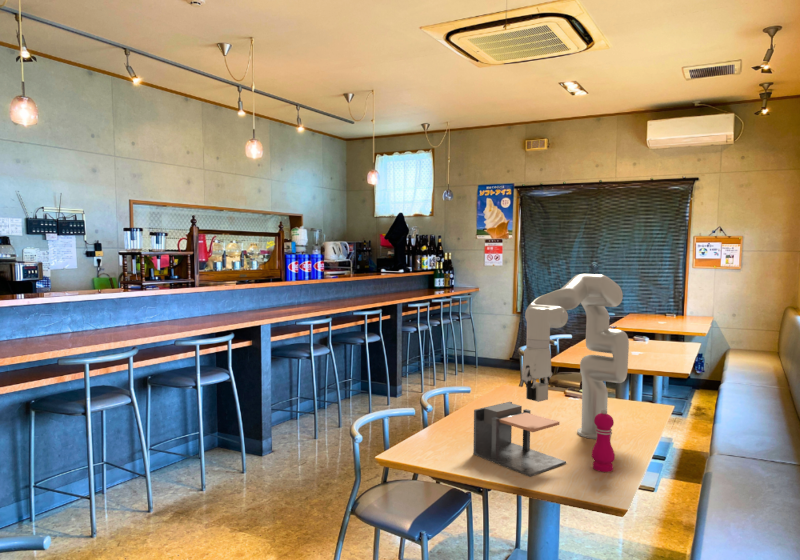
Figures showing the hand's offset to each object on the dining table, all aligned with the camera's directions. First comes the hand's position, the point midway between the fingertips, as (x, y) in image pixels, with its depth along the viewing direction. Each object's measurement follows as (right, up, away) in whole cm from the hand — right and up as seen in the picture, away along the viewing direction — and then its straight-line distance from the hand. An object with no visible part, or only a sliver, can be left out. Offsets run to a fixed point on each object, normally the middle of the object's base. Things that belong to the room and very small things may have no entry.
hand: (536, 397), depth 187 cm
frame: (-5, -23, +7) cm, 24 cm away
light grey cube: (0, 0, 0) cm, 0 cm away
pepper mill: (+21, -23, -2) cm, 32 cm away
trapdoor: (-4, -11, +6) cm, 13 cm away
